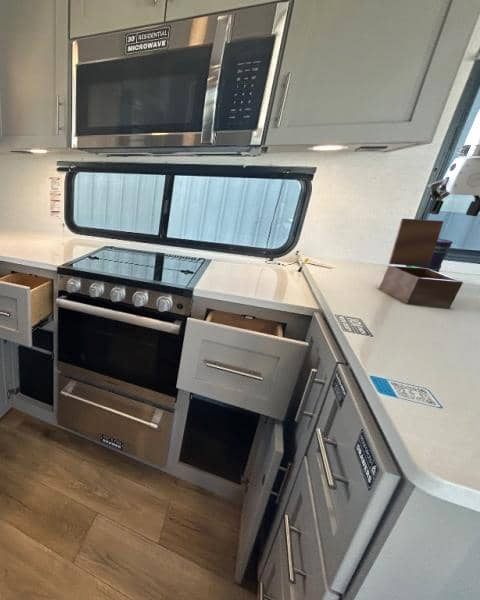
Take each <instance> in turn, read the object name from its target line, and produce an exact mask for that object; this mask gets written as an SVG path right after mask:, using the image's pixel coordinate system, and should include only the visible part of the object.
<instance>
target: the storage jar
mask: <svg viewBox="0 0 480 600" xmlns="http://www.w3.org/2000/svg"><path fill="white" fill-rule="evenodd" d="M453 242H454V241H452V240H451V239H450V240H449V239H445V238H439V237H438V240H437V243H436V247H435V250H434V253H433V256H432V259H431V262H430V266H429V267H420V266H408V265H405V266H406V267H418V268H428V269H431V270H433V271H436V272H438V273H440V270H441V268H442V263H443V261H444V259H445V257H446V256H447V255H448V254H449V252H450V249H451V247H452V245H453Z"/></svg>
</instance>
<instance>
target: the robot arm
mask: <svg viewBox="0 0 480 600" xmlns="http://www.w3.org/2000/svg"><path fill="white" fill-rule="evenodd" d="M455 152H456V154H458V157H456V158H454V160H453V161H452V163H451V164H450V166H449V167H448V169H447V171H446V172H445V174H444V176H443V179H440V180H437V181H434V182H431V183H429V184H428V185H427V190H428V195H429V196H430V200H431V203H430V206H429V208H428V212H427V213H428V214H431V215H439V214H440V212H441V209H442V208H443V204H444V202H445V201H444V199H445V198H446V197H448V196H450V195H455V196H460V195H461V196H472V198H473V200H472V201H471V202H470V203H469V206H468V208H467V210H466V213H465V215H466V216H469V217H470V216H471V217H477V216H478V215H479V213H480V108H479V109H478V111H477V113H476V116H475V117H474V120H473V122H472V125H471V127H470V129H469V132H468V134H467V137H466V139H465V141H464V143H463V146H462V147H459V148H457V149H456V151H455ZM438 187H439V188H438Z"/></svg>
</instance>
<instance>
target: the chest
mask: <svg viewBox="0 0 480 600" xmlns="http://www.w3.org/2000/svg"><path fill="white" fill-rule="evenodd" d="M463 283H464V281H462V280H459V279H456V278H454V277H451V276H449V275H446V274H443V273H441V272H439V273H438V272H436V271H433V270H431V269H428V268H418V267H406V265H395V264H389V265H387V268H386V271H385V273H384V275H383V277H382V280H381V283H380V285H379V288H378V289H379V290H381V291H383V292H384V293H386V294H388V295H389V296H392V297H393V298H395V299H397V300H398V301H400V302H402V303H404V304H405V305H411V306H412V305H413V306H421V307H431V308H441V309H451V306H452V305H453V303H454V301H455V298H456V297H457V295H458V292H459V291H460V289H461V287H462V285H463Z"/></svg>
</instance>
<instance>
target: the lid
mask: <svg viewBox="0 0 480 600" xmlns="http://www.w3.org/2000/svg"><path fill="white" fill-rule="evenodd" d="M443 224H444V220H435V219H419V218H418V219H417V218H401V219H400V223H399V227H398V229H397V234H396V237H395V241H394V243H393V248H392V250H391V254H390V258H389V261H388V264H389V265H395V266H406V265H408V266H420V267H429V266H430V262H431V259H432V256H433V253H434V250H435V247H436V243H437V240H438V238H439V237H440V234H441V231H442V228H443Z"/></svg>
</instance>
